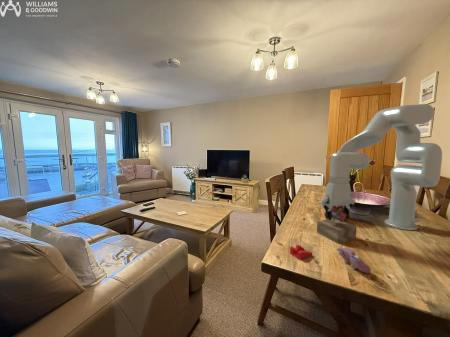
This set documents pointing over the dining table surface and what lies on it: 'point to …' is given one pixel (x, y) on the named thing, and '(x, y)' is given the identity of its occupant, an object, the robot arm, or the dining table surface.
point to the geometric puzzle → (338, 214)
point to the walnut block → (336, 230)
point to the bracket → (299, 252)
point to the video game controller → (353, 259)
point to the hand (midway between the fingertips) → (336, 218)
